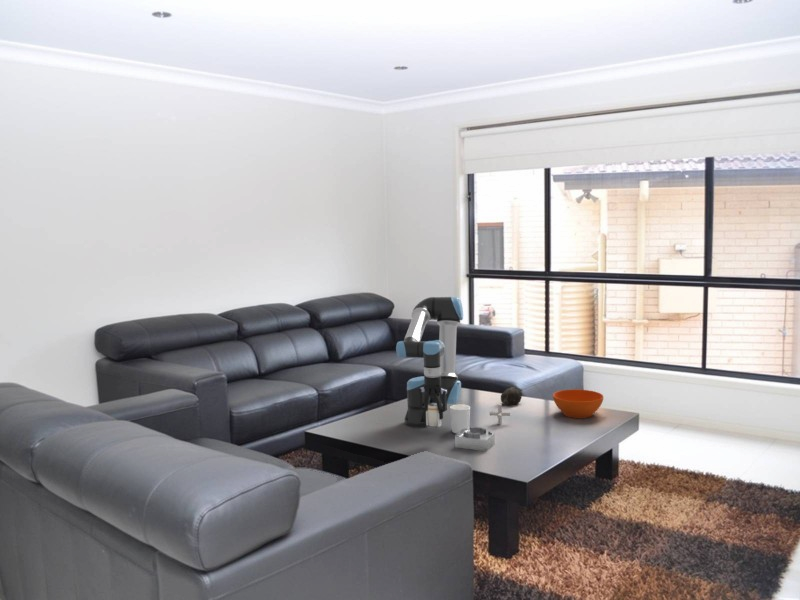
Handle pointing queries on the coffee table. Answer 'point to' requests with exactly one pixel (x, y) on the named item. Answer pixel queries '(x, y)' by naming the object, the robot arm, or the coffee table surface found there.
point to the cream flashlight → (432, 415)
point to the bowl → (578, 402)
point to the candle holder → (460, 417)
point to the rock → (511, 396)
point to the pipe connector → (500, 413)
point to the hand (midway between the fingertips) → (433, 425)
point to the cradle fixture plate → (475, 439)
